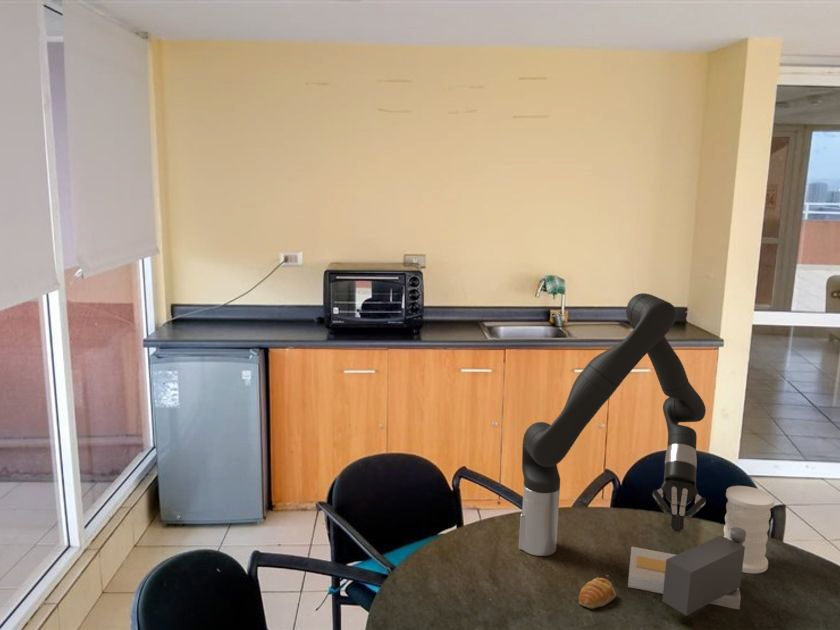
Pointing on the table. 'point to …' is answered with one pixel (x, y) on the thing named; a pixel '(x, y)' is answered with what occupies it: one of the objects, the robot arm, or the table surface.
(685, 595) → the grey block with knob
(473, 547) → the table surface
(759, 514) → the decorative container
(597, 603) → the pastry
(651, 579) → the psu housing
